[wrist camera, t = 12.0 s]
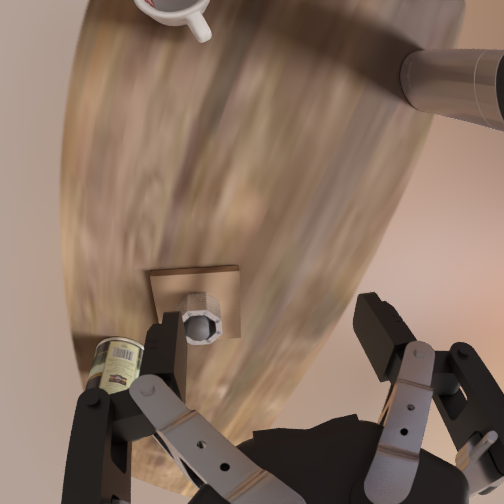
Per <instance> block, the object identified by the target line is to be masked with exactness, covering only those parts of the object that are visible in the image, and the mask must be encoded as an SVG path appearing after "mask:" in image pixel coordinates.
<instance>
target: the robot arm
mask: <svg viewBox="0 0 504 504" xmlns="http://www.w3.org/2000/svg"><path fill="white" fill-rule="evenodd" d="M400 80H401V86H402V90H403V92H404V95H405V96H406V98H407V100H408V101H409V102H410V103H411V105H412V106H414V107H415V108H416V109H418V110H420V111H422V112H427V113H432V114H436V115H441V116H445V117H449V118H454V119H458V120H462V121H466V122H470V123H474V124H478V125H481V126H485V127H488V128H492V129H495V130H499V131H503V132H504V50H498V49H440V50H422V51H415V52H413V53H411V54H409V55H408V56H407V57H406V58H405V60H404V62H403V64H402V67H401V73H400ZM353 328H354V332H355V333H356V335H357V337H358V339H359V341H360V343H361V345H362V347H363V349H364V351H365V353H366V355H367V357H368V359H369V360H370V363H371V365H372V367H373V368H374V371H375V372H376V374H377V376H378V379H379V381H380V382H384V381H388V380H389V381H390V383H391V385H390V388H389V390H388V394H387V396H386V399H385V402H384V405H383V408H382V411H381V414H380V417H379V420H378V422H377V423H374V422H370V421H362V420H358V417H357V414H352V415H348V416H344V417H339V418H334V419H331V420H329V421H327V422H324V423H322V424H320V425H318V426H315V427H313V428H311V429H306V430H304V429H287V428H276V429H268V430H259V431H253V438H252V439H249V440H247V441H244V442H242V443H241V444H239V445H237V446H236V447H235V446H234V445H233V444H232V443H231V442H230V441H229V440H227V439H226V438H225V437H224V436H223V435H222V434H221V433H220V432H219V431H218V430H217V429H216V428H215V427H214V426H212V425H211V424H210V423H209V422H208V421H207V420H206V419H205V418H204V417H203V416H202V415H201V414H200V413H199V412H198V411H196V410H193V411H191V410H190V409H189V408H188V407H187V406H186V405H185V396H186V369H187V338H186V333H185V328H184V323H183V318H182V314H181V311H170V312H164V313H163V318H162V324H153V325H152V326H151V327H150V329H149V330H148V331H147V335H146V340H145V345H144V350H143V355H142V360H141V366H140V371H139V376H138V378H136V379H135V380H134V381H133V382H132V383H131V385H130V387H129V388H128V389H126V390H123V391H119V392H116V393H112V394H108V392H107V391H105V390H104V389H102V388H90V389H87V390H86V391H84V392H83V393H82V394H81V395H80V396H79V398H78V401H77V406H76V410H75V415H74V420H73V425H72V430H71V436H70V442H69V448H68V454H67V461H66V467H65V475H64V483H63V492H62V502H61V504H131V452H132V440H135V439H139V438H143V437H147V436H150V435H152V436H153V437H154V438H155V439H156V441H157V442H158V443H159V444H160V445H161V447H162V448H163V449H164V450H165V451H166V453H167V454H168V455H169V456H170V457H171V458H172V460H173V461H174V462H175V463H176V464H177V466H178V467H179V468H180V470H181V471H182V472H183V473H184V475H185V476H186V477H187V478H188V479H189V480H190V481H191V482H192V483H193V484H194V486H195V487H196V488H197V489H198V490H199V491H198V492H197V493H196V494H195V495H194V497H193V498H192V499H191V500H190V501H189V503H188V504H469V498H471V497H473V496H474V495H476V494H480V495H485V494H488V493H490V492H491V491H493V490H494V489H495V488H497V487H498V486H499V485H501V484H502V483H503V482H504V394H503V392H502V391H501V389H500V387H499V386H498V384H497V383H496V381H495V379H494V378H493V376H492V375H491V373H490V372H489V370H488V369H487V367H486V366H485V364H484V363H483V361H482V360H481V358H480V357H479V356H478V354H477V352H476V351H475V350H474V348H472V346H470V345H469V344H467V343H464V342H457V343H454V344H453V345H452V346H451V348H450V350H449V351H434V349H433V348H432V347H431V346H430V345H429V344H427V343H425V342H422V341H417V339H416V338H415V337H414V335H413V334H412V332H411V331H410V329H409V328H408V326H407V325H406V324H405V322H403V319H402V318H401V316H399V314H398V312H397V311H396V310H395V308H394V307H393V306H392V305H390V304H389V303H387V302H386V301H381V300H380V298H379V297H378V295H377V294H376V293H375V292H370V293H363V294H359V295H358V297H357V302H356V307H355V312H354V317H353ZM460 386H461V387H462V388H463V390H464V392H465V394H466V396H467V400H466V398H465V397H464V395H463V393H462V391H461V389H460ZM432 398H433V400H434V402H435V404H436V406H437V408H438V411H439V413H440V415H441V417H442V419H443V421H444V423H445V425H446V427H447V430H448V432H449V434H450V436H451V438H452V441H453V443H454V445H455V447H456V449H457V452H458V453H457V455H456V459H455V461H456V466H453V465H452V464H450V463H448V462H446V461H444V460H442V459H441V458H439V457H437V456H435V455H433V454H431V453H429V452H428V451H426V450H424V449H422V448H421V444H422V440H423V436H424V432H425V428H426V423H427V419H428V414H429V410H430V404H431V399H432Z"/></svg>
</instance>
